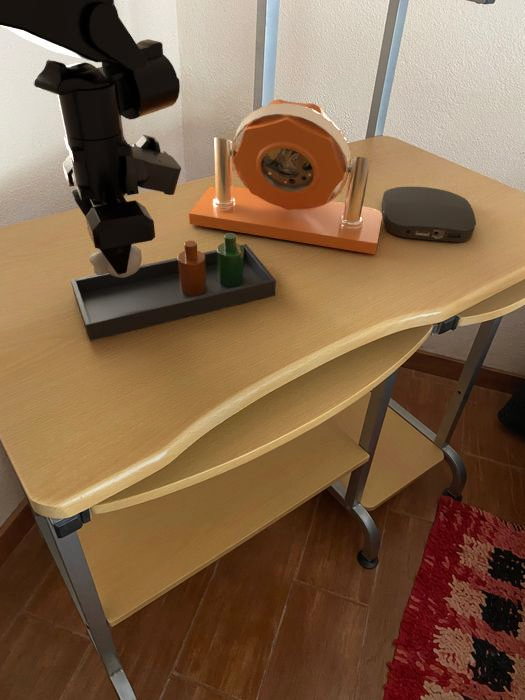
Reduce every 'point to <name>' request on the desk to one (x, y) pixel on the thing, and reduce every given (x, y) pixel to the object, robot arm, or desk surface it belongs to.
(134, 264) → the white rounded lumpy piece
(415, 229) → the media streaming box
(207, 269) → the tray
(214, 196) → the desk clock
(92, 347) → the desk surface
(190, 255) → the amber bottle
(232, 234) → the green bottle
